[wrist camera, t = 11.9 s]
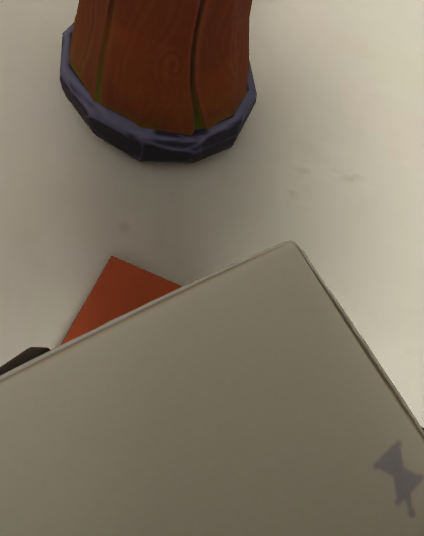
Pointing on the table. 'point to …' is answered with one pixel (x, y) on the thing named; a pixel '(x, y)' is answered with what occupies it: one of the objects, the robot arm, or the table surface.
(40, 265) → the table surface
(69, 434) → the box
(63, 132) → the table surface
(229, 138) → the mug
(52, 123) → the table surface
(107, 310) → the mat
